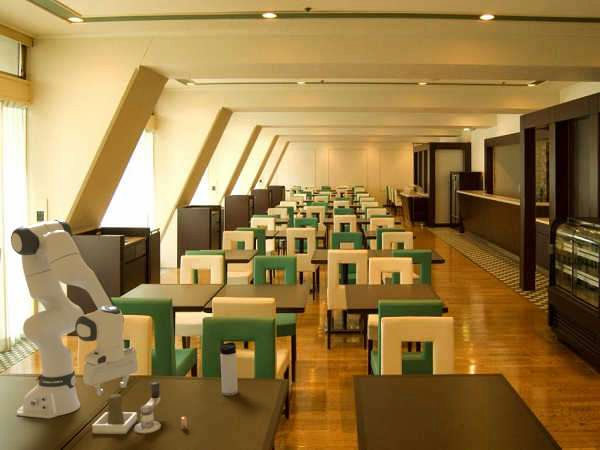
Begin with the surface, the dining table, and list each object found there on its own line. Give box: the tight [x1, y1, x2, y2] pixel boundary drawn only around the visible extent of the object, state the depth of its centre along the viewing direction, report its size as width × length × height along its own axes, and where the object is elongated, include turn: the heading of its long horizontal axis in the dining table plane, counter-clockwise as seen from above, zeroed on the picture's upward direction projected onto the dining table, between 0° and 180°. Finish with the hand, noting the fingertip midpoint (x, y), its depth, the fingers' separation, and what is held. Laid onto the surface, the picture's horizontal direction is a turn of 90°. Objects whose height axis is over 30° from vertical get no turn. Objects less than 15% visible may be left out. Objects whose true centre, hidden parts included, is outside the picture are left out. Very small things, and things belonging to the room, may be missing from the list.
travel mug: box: [219, 341, 239, 397], centre depth 254 cm, size 6×7×20 cm
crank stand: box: [133, 411, 188, 435], centre depth 221 cm, size 18×9×5 cm, turn 84°
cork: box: [106, 393, 125, 425], centre depth 223 cm, size 6×6×11 cm
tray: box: [91, 411, 138, 435], centre depth 224 cm, size 12×12×3 cm
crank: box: [140, 381, 161, 415], centre depth 226 cm, size 14×4×7 cm, turn 174°
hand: (111, 390), depth 223 cm, fingers open, 8 cm apart
